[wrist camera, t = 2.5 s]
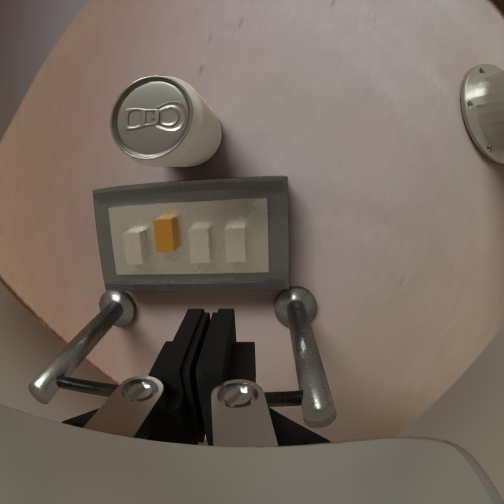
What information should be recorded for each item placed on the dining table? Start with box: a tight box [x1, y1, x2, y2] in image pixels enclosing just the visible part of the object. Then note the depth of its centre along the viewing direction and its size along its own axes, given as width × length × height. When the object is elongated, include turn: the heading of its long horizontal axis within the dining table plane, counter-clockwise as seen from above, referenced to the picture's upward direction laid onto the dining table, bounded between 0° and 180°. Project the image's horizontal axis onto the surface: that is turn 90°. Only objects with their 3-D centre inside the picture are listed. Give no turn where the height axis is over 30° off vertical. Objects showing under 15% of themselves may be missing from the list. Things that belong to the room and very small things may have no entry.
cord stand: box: [29, 286, 336, 428], centre depth 26 cm, size 24×4×17 cm, turn 92°
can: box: [110, 75, 222, 167], centre depth 24 cm, size 6×6×12 cm
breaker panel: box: [93, 176, 289, 291], centre depth 29 cm, size 18×10×6 cm, turn 92°
